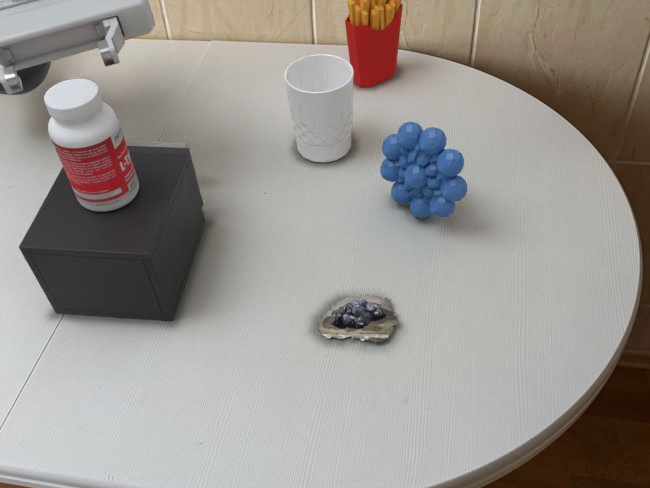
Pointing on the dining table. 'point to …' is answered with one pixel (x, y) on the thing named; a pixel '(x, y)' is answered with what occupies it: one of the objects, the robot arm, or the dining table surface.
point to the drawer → (164, 148)
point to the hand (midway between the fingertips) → (61, 72)
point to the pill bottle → (90, 146)
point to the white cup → (321, 105)
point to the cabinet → (119, 244)
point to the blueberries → (359, 319)
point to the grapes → (423, 170)
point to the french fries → (373, 39)
